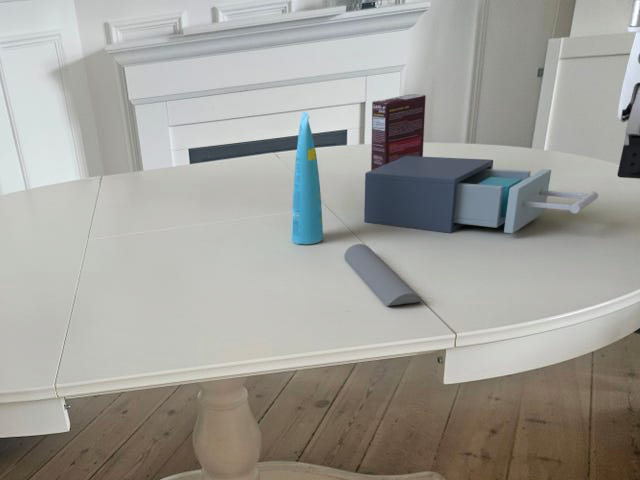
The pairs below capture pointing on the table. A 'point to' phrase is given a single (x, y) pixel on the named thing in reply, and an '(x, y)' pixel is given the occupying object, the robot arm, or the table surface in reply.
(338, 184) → the table surface
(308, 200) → the tube
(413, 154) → the supplement box
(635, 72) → the robot arm
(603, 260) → the table surface
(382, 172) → the drawer cabinet
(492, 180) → the teal box
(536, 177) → the drawer
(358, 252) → the gray half cylinder
